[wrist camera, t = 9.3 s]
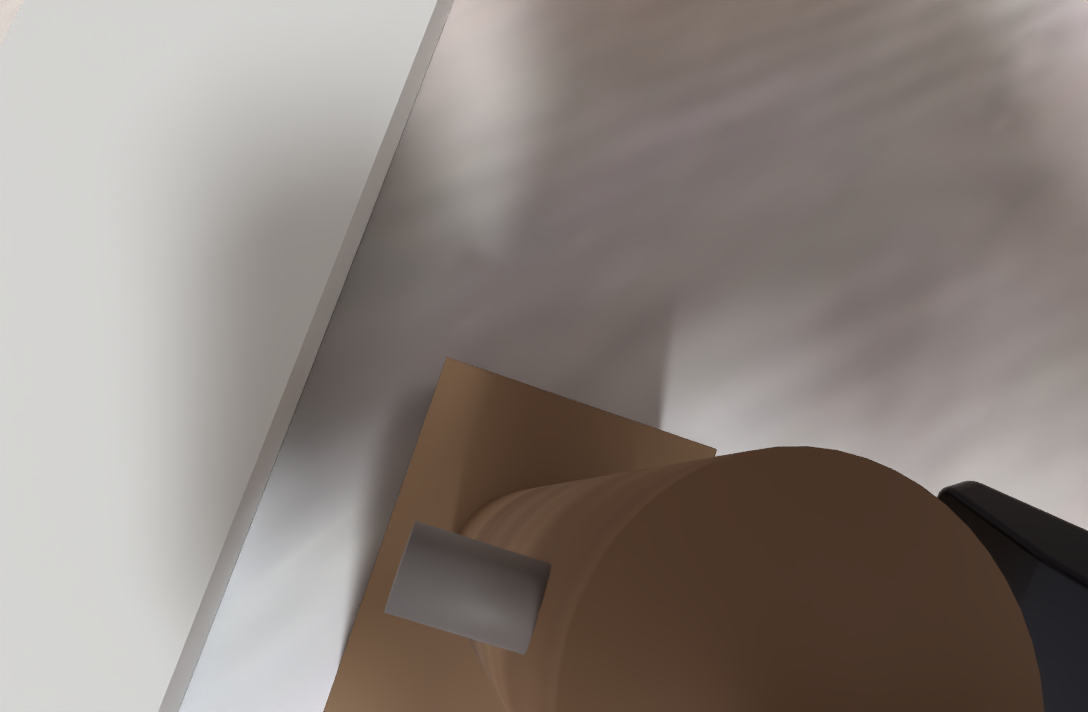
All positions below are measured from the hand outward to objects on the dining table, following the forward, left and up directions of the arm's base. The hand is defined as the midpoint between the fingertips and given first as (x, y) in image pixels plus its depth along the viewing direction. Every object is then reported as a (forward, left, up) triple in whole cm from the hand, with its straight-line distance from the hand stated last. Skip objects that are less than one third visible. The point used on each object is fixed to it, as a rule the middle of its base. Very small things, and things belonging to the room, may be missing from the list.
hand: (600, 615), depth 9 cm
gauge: (0, 0, -8) cm, 8 cm away
